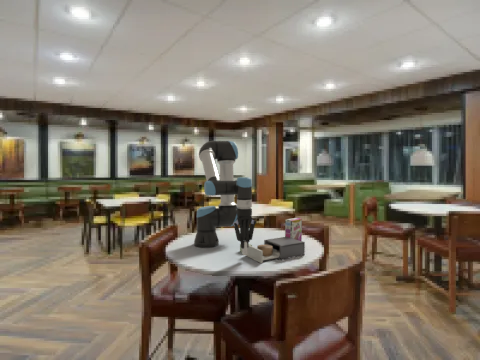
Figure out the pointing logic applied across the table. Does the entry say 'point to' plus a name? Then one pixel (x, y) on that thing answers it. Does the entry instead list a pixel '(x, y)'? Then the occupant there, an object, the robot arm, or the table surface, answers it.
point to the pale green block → (241, 248)
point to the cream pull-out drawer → (260, 254)
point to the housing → (287, 247)
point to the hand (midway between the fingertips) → (244, 254)
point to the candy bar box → (293, 228)
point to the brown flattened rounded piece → (266, 249)
